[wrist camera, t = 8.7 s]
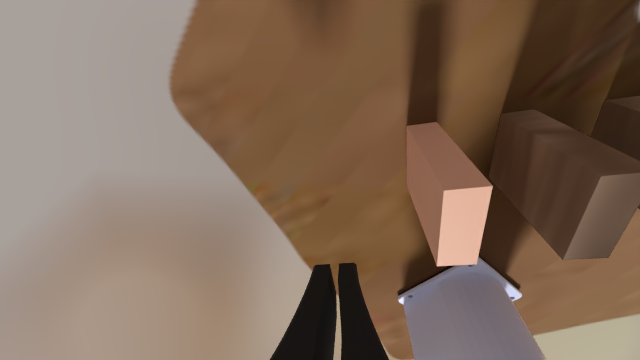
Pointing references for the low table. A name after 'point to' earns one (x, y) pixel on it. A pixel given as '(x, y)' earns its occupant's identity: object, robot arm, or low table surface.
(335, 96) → the low table surface
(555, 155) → the walnut domino
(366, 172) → the low table surface
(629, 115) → the walnut domino
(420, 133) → the terracotta domino
